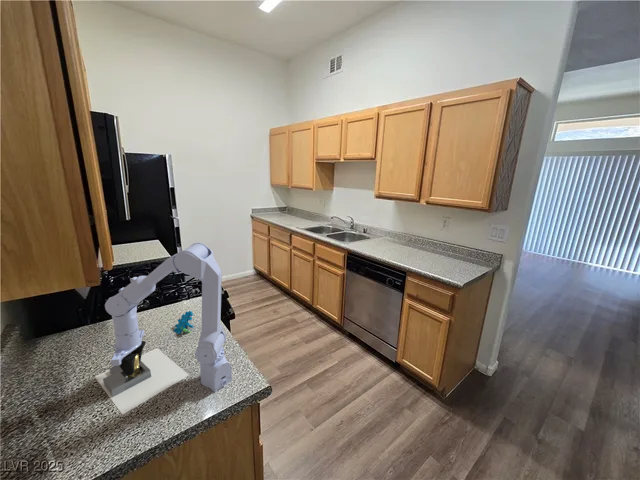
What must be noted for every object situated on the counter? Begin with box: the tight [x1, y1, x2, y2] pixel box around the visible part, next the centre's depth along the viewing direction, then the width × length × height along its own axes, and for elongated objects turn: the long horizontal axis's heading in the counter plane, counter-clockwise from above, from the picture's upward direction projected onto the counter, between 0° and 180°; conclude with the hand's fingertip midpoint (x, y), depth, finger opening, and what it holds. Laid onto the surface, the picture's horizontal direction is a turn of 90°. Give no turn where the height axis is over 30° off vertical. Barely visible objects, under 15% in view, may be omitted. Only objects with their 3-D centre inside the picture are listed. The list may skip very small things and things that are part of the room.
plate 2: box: [108, 365, 151, 390], centre depth 82 cm, size 12×7×2 cm, turn 55°
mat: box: [94, 348, 190, 415], centre depth 82 cm, size 22×18×1 cm
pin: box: [127, 352, 140, 379], centre depth 80 cm, size 3×3×7 cm
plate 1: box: [103, 361, 151, 397], centre depth 80 cm, size 7×10×2 cm
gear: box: [173, 310, 195, 335], centre depth 108 cm, size 11×6×10 cm
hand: (132, 369), depth 80 cm, fingers closed on pin, 3 cm apart
